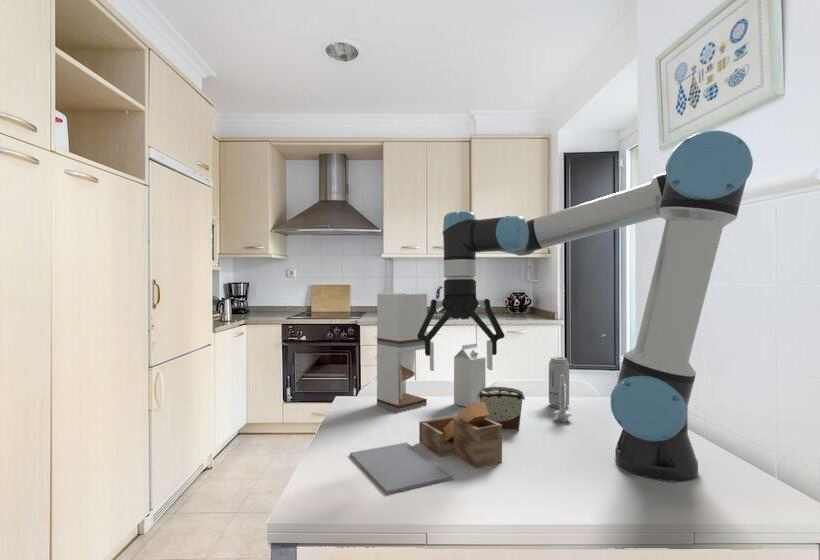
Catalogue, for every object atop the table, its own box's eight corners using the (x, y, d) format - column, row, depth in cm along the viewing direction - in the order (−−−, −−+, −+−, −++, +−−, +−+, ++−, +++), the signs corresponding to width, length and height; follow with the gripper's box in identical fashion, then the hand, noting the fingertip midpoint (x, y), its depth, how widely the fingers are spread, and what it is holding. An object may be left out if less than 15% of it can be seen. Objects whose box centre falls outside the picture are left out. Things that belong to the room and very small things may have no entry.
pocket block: (515, 459, 95) (515, 422, 95) (461, 471, 88) (461, 432, 88) (467, 433, 111) (467, 402, 111) (419, 442, 104) (419, 409, 104)
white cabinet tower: (399, 412, 129) (399, 294, 129) (376, 405, 136) (377, 293, 137) (426, 405, 136) (426, 293, 137) (404, 398, 144) (404, 293, 144)
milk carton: (453, 404, 138) (453, 344, 138) (468, 400, 143) (468, 342, 143) (470, 409, 133) (471, 346, 133) (485, 404, 137) (485, 344, 138)
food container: (521, 423, 119) (521, 386, 119) (524, 431, 113) (524, 392, 113) (475, 421, 120) (475, 385, 120) (476, 429, 114) (477, 391, 114)
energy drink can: (545, 404, 139) (545, 356, 139) (562, 403, 140) (562, 356, 140) (554, 409, 133) (554, 360, 133) (572, 408, 134) (572, 359, 134)
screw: (568, 417, 124) (574, 423, 119) (551, 417, 124) (556, 423, 119) (568, 372, 124) (574, 375, 119) (551, 372, 124) (556, 375, 120)
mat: (452, 478, 85) (452, 475, 85) (386, 494, 79) (386, 491, 79) (406, 445, 103) (406, 442, 103) (349, 455, 96) (350, 452, 96)
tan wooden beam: (489, 414, 95) (484, 401, 97) (474, 417, 93) (469, 404, 95) (460, 438, 105) (456, 426, 106) (446, 441, 103) (442, 428, 104)
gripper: (508, 278, 106) (509, 365, 106) (406, 279, 106) (407, 367, 105) (516, 277, 99) (518, 371, 98) (406, 278, 98) (407, 373, 98)
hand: (460, 369), depth 102 cm, fingers open, 13 cm apart
